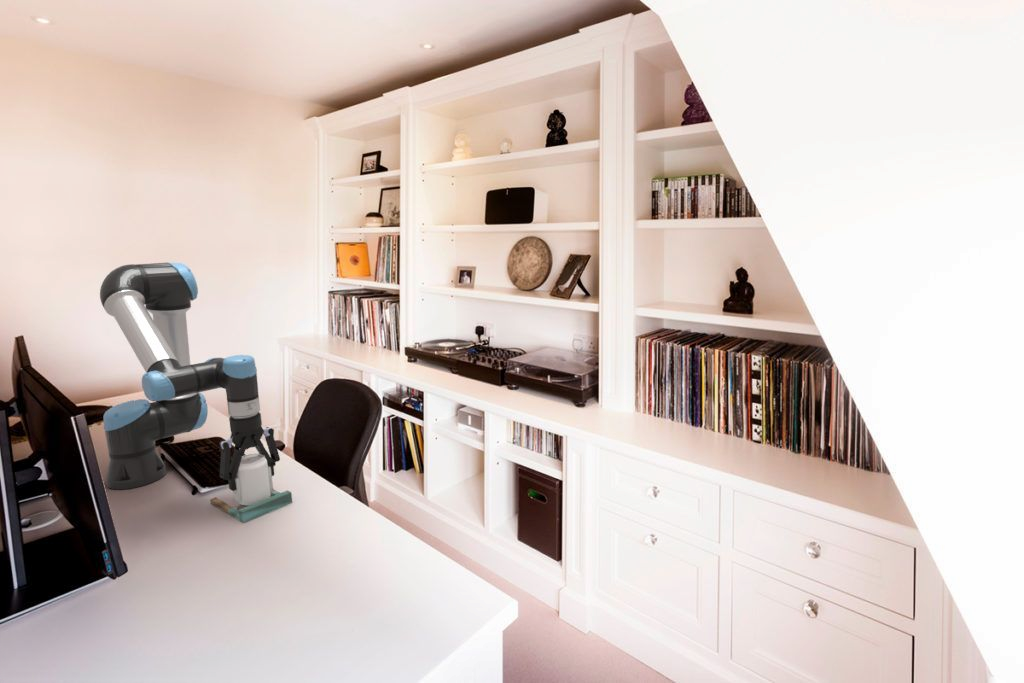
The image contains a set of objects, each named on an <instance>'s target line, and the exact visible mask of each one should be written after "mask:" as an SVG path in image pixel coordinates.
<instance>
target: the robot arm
mask: <svg viewBox="0 0 1024 683" xmlns="http://www.w3.org/2000/svg"><path fill="white" fill-rule="evenodd" d="M99 290H100V291H99V298H100V302H101V305H102V307H103V309H104V311H105V312H106V314H108V315H109V316H111V317H114V320H115V321H116V323H117V324H118V326H119V328H120V330H121V332H122V333H123V335H124V337H125V338H126V340H127V342H128V344H129V345H130V347H131V349H132V351H133V352H134V354H135V356H136V358H137V360H138V361H139V363H140V364H141V366H142V368H143V370H144V371H145V373H144V374H143V375H142V377H141V386H142V390H143V393H144V396H145V397H146V399H145V398H142V399H136V400H135V399H134V400H129V401H128V400H127V401H125V402H122V403H119V404H116V405H114V406H112V407H110V408H109V409H107V410H106V411H105V412H104V414H103V419H102V420H103V430H104V433H105V434H104V435H105V439H106V446H107V451H108V456H109V457H108V458H109V461H108V466H107V470H106V475H105V485H106V487H107V488H109V489H112V490H127V489H134V488H138V487H143V486H146V485H149V484H152V483H154V482H157V481H158V480H160V479H162V478H163V477H164V476H166V475H167V468H166V464H165V463H164V461H163V459H162V458H161V456H160V454H159V453H158V451H157V446H156V441H158V440H162V439H165V438H170V437H173V436H178V435H180V434H185V433H190V432H192V431H194V430H198V429H200V428H202V427H203V426H204V425H205V424H206V421H207V419H208V411H209V410H208V404H207V400H206V398H205V395H204V394H202V393H203V392H207V391H211V390H216V389H221V388H222V389H224V390H225V395H226V401H227V409H228V410H227V411H228V413H227V414H228V416H229V420H228V421H229V428H230V437H229V439H226V440H220V441H219V443H218V444H219V447H220V450H221V451H220V463H219V478H221V479H222V480H225V481H228V489H229V490H230V491H232V494H233V500H234V501H236V502H241V501H242V498H241V490H240V481H239V478H238V477H236V475H237V472H238V469H239V466H240V462H241V459H242V456H244V455H245V452H246V450H248V449H250V448H255V449H256V451H257V452H258V454H261V455H263V456H265V458H266V459H267V465H268V474H269V484H270V490H271V489H274V487H273V486H274V485H273V477H274V476H275V469H274V468H275V466H276V464H277V462H280V460H281V457H280V455H279V451H278V448H277V444H276V440H275V437H274V436H275V435H274V434H275V429H274V428H271V427H268V426H266V427H265V428H263V427H262V426H263V424H262V423H263V421H262V413H261V412H260V411H261V406H260V405H261V404H260V396H259V386H258V374H257V372H258V371H257V366H256V361H255V360H256V359H255V358H254V357H253V356H252V355H249V354H237V355H231V356H227V357H225V358H224V357H211V358H209V359H207V360H205V361H204V362H199V363H193V364H191V356H190V355H191V354H190V345H189V335H188V322H187V312H188V311H189V310H190V309H191V307H192V304H191V301H194V300H196V299H197V298H198V294H199V288H198V284H197V280H196V278H195V275H194V273H193V272H192V270H191V269H190V268H189V266H187V265H186V264H184V263H183V262H182V263H181V262H157V263H155V262H154V263H140V264H139V263H137V264H125V265H121V266H118V267H116V268H115V269H113V270H111V271H110V272H109V273H108V274H107V275H106V277H104V279H103V281H102V283H101V286H100V289H99ZM151 314H152V316H151ZM263 436H264V439H265V442H266V446H267V448H268V451H267V450H266V447H265V446H264V443H263V442H262V440H261V439H262V437H263ZM232 444H234V447H233V454H232V457H231V448H232Z"/></svg>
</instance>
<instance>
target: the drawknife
mask: <svg viewBox="0 0 1024 683" xmlns="http://www.w3.org/2000/svg"><path fill="white" fill-rule="evenodd" d="M270 493H271V496H270V497H269V498H267V499H265V500H262V501H260V502H257V503H255V504H252V505H250V506H247V505H246V506H245V507H242V508H240V509H237V508H235V507H233V506H232V505H230V504H229V503H227V502H225V501H224V500H222V499H221V498H218V497H217V496H215V497H213V498H210V504H211V505H213V506H214V507H216V508H218V509H219V510H221V511H223V512H224V513H226V514H228V515H230V516H231V517H233V518H234V519H236V520H238V521H240V522H241V523H243V524H245V523H247V522H250V521H253V520H254V519H257V518H259V517H262V516H264V515H266V514H268V513H271V512H273V511H275V510H278V509H280V508H283V507H285V506H287V505H289V504H291V503H293V498H292V491H289V490H285V491H282V492H280V491H278V490H276V489H274V488H273V489H271V490H270Z"/></svg>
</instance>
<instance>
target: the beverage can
mask: <svg viewBox="0 0 1024 683" xmlns="http://www.w3.org/2000/svg"><path fill="white" fill-rule="evenodd" d="M236 477H238V478H239V481H240V490H241V498H242V501H241V502H238V501H237V502H238V504H239V505H242V506H246V507H247V506H250V505H252V504H255V503H257V502H260V501H262V500H265V499H267V498H269V497H272V496H271V493H270V484H269V474H268V465H267V459H266V458H265V456H263V455H261V454H259V453H249V454H243V456H242V459H241V462H240V466H239V469H238V472H237V475H236Z"/></svg>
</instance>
